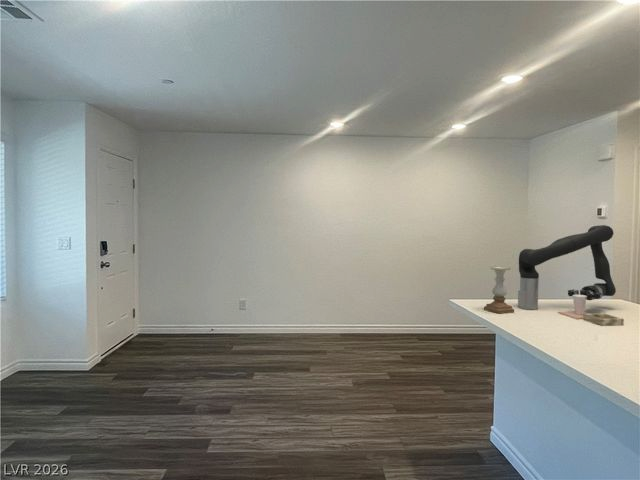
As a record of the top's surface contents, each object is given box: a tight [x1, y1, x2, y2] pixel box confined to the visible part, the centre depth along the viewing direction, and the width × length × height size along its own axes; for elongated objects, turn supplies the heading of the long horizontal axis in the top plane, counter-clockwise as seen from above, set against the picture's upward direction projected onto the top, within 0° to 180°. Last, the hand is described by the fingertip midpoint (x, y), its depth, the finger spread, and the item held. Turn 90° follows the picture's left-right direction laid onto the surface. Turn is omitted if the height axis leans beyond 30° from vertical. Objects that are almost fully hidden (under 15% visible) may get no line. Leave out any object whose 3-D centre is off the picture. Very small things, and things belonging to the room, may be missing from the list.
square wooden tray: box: [582, 313, 625, 327], centre depth 196 cm, size 11×11×3 cm
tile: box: [557, 310, 591, 320], centre depth 210 cm, size 14×14×1 cm
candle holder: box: [483, 266, 515, 315], centre depth 220 cm, size 11×11×24 cm
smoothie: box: [572, 286, 587, 315], centre depth 210 cm, size 6×6×14 cm
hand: (578, 295), depth 209 cm, fingers open, 8 cm apart
